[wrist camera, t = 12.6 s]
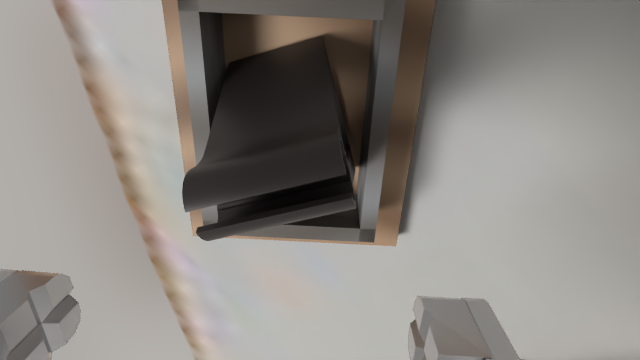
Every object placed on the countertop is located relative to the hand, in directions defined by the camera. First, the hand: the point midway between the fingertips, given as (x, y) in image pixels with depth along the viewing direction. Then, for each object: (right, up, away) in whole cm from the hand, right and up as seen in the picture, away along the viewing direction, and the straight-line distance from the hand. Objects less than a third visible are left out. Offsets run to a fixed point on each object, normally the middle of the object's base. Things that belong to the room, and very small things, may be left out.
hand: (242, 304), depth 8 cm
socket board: (0, +8, +16) cm, 18 cm away
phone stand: (0, +7, +15) cm, 17 cm away
